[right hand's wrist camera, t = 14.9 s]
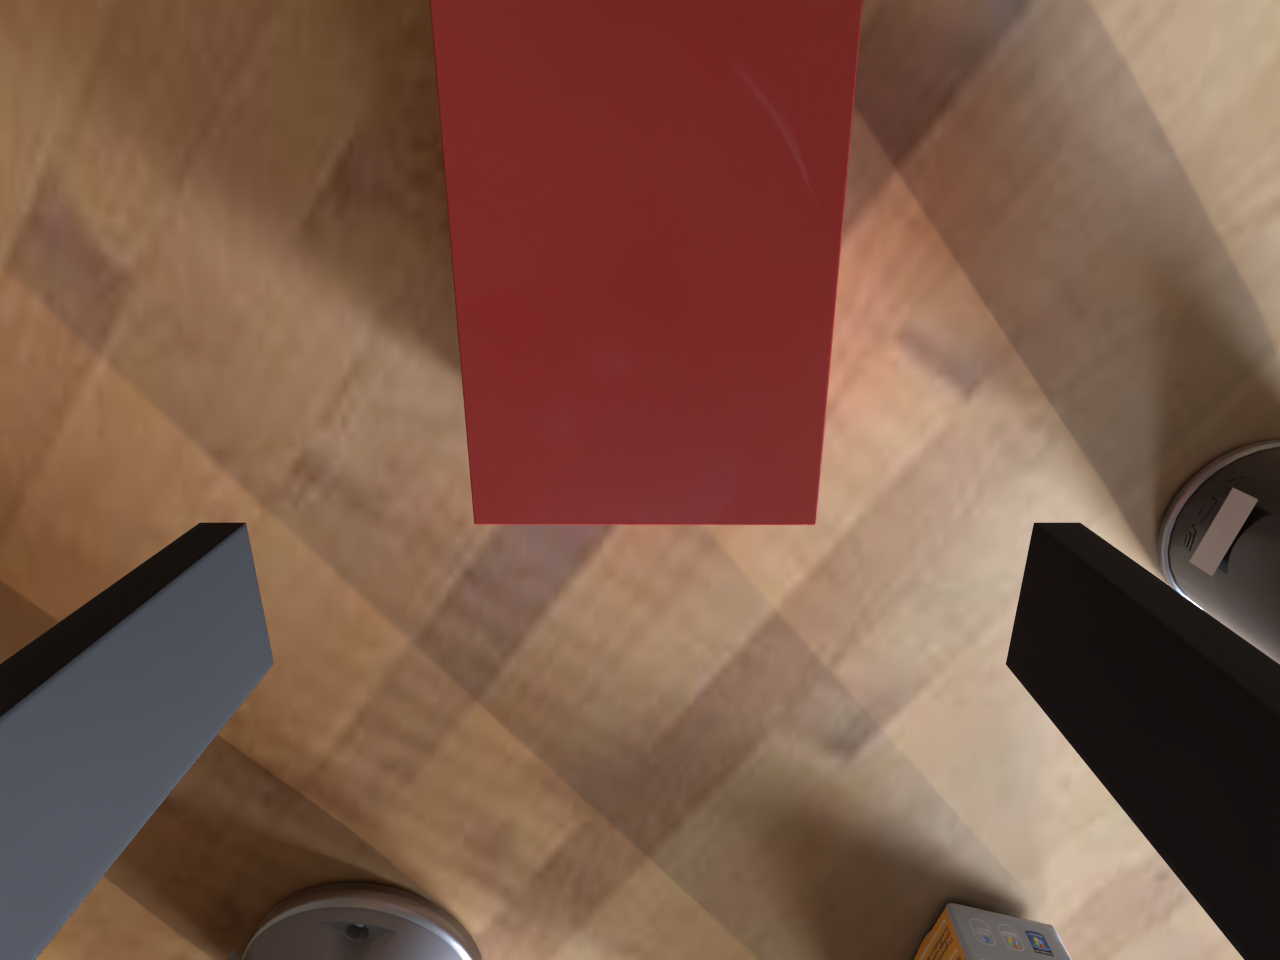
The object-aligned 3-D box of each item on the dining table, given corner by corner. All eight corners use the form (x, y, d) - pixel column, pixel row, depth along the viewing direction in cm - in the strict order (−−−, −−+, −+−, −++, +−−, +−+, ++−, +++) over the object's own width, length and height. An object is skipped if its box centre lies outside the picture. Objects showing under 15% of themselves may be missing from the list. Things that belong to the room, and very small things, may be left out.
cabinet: (504, 18, 30) (420, -95, 19) (786, 18, 30) (872, -96, 19) (526, 426, 36) (473, 525, 25) (762, 426, 36) (816, 525, 25)
